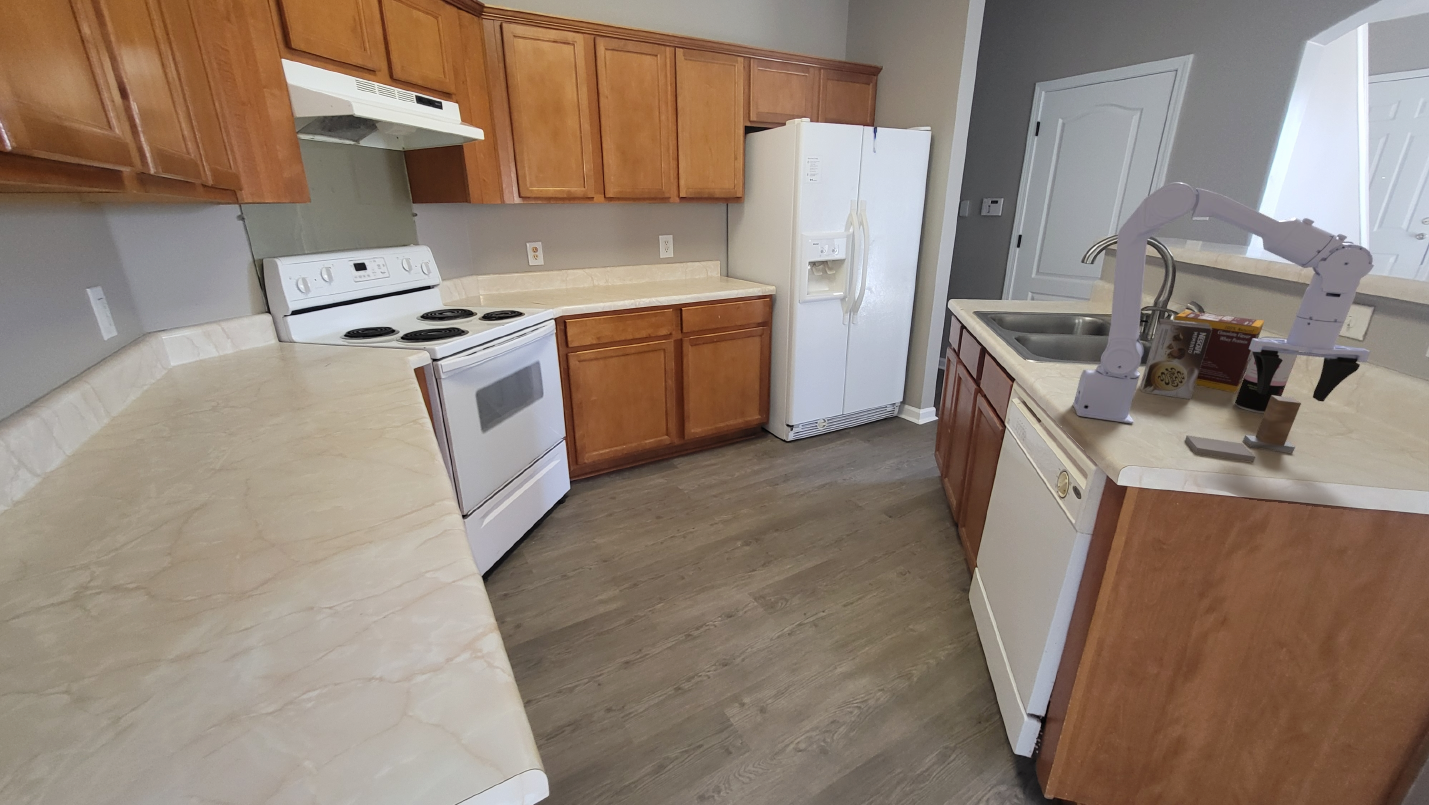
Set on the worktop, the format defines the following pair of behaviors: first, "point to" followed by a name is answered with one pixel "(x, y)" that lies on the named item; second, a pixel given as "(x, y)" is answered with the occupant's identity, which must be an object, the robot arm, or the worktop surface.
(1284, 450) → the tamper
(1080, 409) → the robot arm
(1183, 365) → the coffee box
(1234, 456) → the tile
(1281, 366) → the beverage can
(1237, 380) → the supplement box
